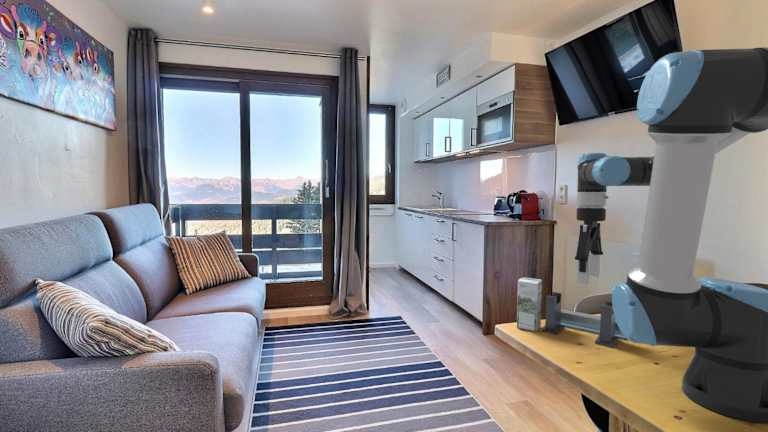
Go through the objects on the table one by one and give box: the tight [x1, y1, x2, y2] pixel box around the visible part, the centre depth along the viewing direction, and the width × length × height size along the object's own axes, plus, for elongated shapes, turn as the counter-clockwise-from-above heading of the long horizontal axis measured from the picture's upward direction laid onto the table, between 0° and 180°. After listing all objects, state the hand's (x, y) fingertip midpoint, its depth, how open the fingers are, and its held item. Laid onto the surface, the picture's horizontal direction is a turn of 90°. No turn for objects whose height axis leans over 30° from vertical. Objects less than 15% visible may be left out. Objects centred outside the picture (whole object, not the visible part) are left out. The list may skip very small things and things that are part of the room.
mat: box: [561, 322, 627, 341], centre depth 117 cm, size 8×21×1 cm, turn 50°
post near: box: [594, 300, 620, 348], centre depth 106 cm, size 7×4×10 cm, turn 140°
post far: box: [540, 291, 565, 336], centre depth 115 cm, size 7×4×10 cm, turn 140°
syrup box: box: [516, 276, 543, 333], centre depth 116 cm, size 6×6×14 cm
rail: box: [561, 308, 623, 335], centre depth 117 cm, size 4×20×3 cm, turn 50°
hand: (588, 279), depth 116 cm, fingers open, 13 cm apart
